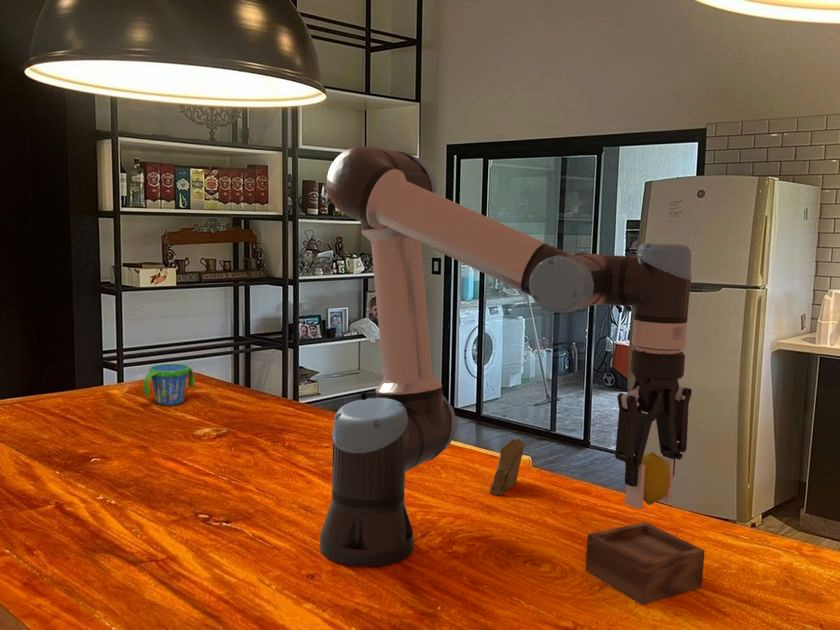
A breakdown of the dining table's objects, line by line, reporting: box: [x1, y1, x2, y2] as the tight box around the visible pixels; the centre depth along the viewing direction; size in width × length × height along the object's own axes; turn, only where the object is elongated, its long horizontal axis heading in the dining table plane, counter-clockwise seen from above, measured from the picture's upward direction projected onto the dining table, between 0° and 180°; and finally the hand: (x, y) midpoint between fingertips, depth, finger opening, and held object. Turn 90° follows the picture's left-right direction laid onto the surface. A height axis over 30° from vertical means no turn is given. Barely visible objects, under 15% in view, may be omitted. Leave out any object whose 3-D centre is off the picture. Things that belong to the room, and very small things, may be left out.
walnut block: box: [585, 521, 705, 606], centre depth 119 cm, size 12×12×6 cm
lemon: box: [641, 451, 670, 506], centre depth 117 cm, size 6×6×8 cm
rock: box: [488, 438, 526, 496], centre depth 159 cm, size 11×9×10 cm
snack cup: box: [142, 363, 196, 406], centre depth 219 cm, size 16×10×10 cm
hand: (648, 502), depth 118 cm, fingers closed on lemon, 5 cm apart
